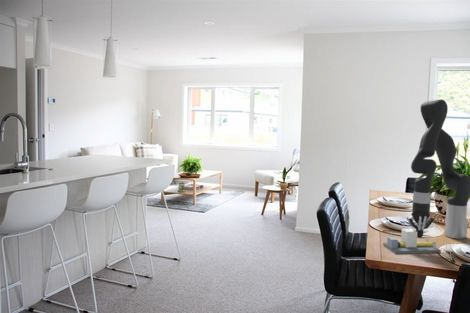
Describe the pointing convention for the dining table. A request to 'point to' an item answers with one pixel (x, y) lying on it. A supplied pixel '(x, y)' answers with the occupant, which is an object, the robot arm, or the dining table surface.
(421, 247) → the linear slide rail
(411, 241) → the sleeve
